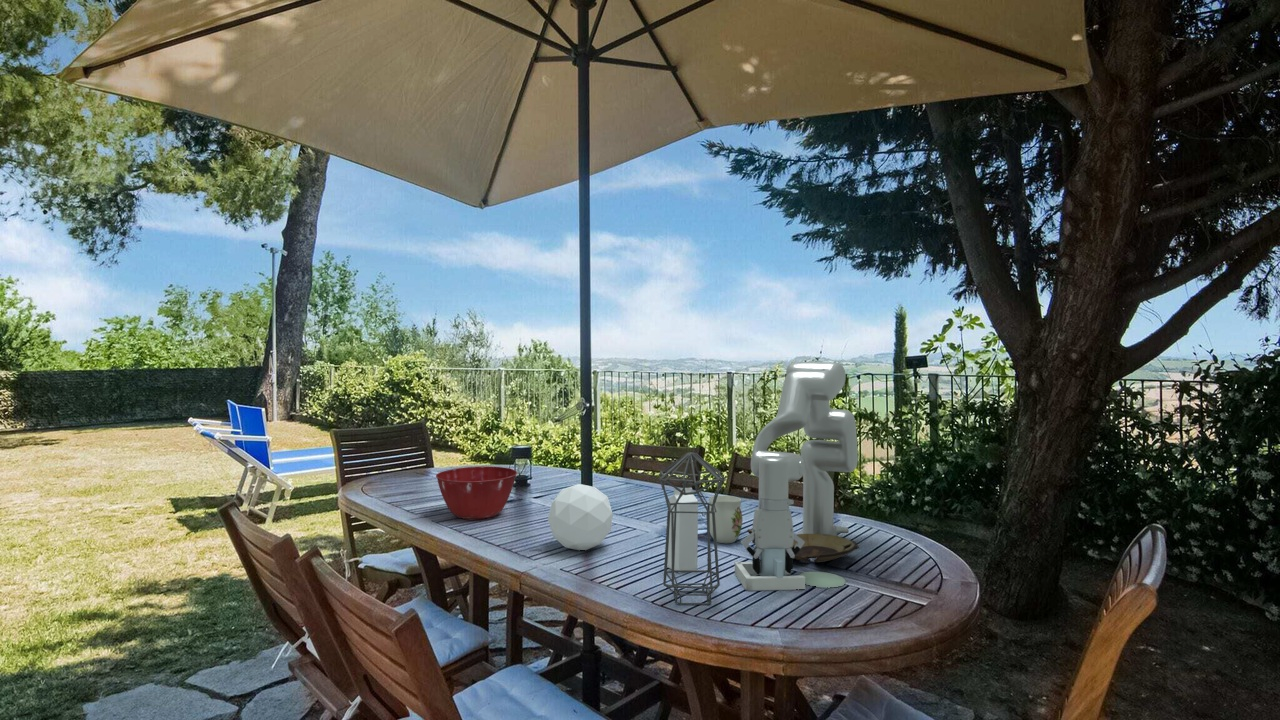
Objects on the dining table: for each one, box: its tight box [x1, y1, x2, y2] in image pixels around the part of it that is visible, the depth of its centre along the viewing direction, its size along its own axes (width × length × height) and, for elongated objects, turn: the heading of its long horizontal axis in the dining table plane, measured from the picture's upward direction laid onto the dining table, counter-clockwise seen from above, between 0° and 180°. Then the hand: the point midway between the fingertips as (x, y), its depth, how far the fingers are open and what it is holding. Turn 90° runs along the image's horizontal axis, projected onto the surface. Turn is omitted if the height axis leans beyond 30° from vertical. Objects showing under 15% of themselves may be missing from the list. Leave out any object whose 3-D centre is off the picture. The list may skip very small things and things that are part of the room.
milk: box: [667, 487, 699, 574], centre depth 179 cm, size 6×6×22 cm
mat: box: [797, 571, 846, 589], centre depth 171 cm, size 12×12×1 cm
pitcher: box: [708, 495, 743, 544], centre depth 209 cm, size 11×18×14 cm, turn 148°
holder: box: [734, 561, 806, 592], centre depth 170 cm, size 15×13×3 cm
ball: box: [547, 483, 614, 551], centre depth 198 cm, size 19×20×20 cm
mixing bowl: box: [435, 466, 518, 520], centre depth 237 cm, size 28×28×16 cm
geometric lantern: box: [658, 451, 728, 606], centre depth 158 cm, size 16×16×35 cm
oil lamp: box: [746, 528, 860, 563], centre depth 191 cm, size 22×30×8 cm
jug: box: [759, 548, 786, 578], centre depth 168 cm, size 10×6×9 cm, turn 4°
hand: (772, 571), depth 170 cm, fingers open, 7 cm apart
